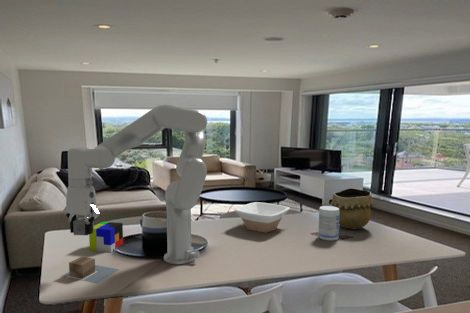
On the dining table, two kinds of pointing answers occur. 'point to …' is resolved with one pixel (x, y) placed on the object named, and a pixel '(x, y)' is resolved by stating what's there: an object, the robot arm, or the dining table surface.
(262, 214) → the bowl
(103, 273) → the board
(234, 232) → the dining table surface
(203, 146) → the robot arm
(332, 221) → the supplement tub
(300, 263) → the dining table surface
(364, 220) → the clay pot
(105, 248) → the puzzle toy
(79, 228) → the grey cube
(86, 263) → the walnut block
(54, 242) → the dining table surface
